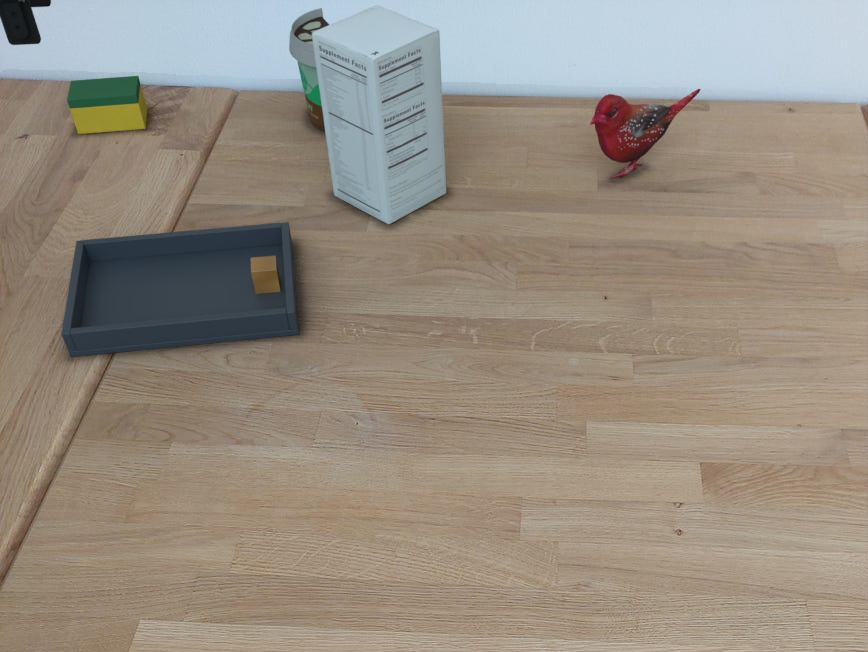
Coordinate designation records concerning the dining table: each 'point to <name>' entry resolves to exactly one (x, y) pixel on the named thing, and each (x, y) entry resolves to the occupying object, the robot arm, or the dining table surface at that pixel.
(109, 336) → the tray
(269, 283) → the small brown block
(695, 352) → the dining table surface
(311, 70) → the food container
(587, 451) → the dining table surface
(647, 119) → the decorative bird figurine
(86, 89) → the sponge
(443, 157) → the supplement box
